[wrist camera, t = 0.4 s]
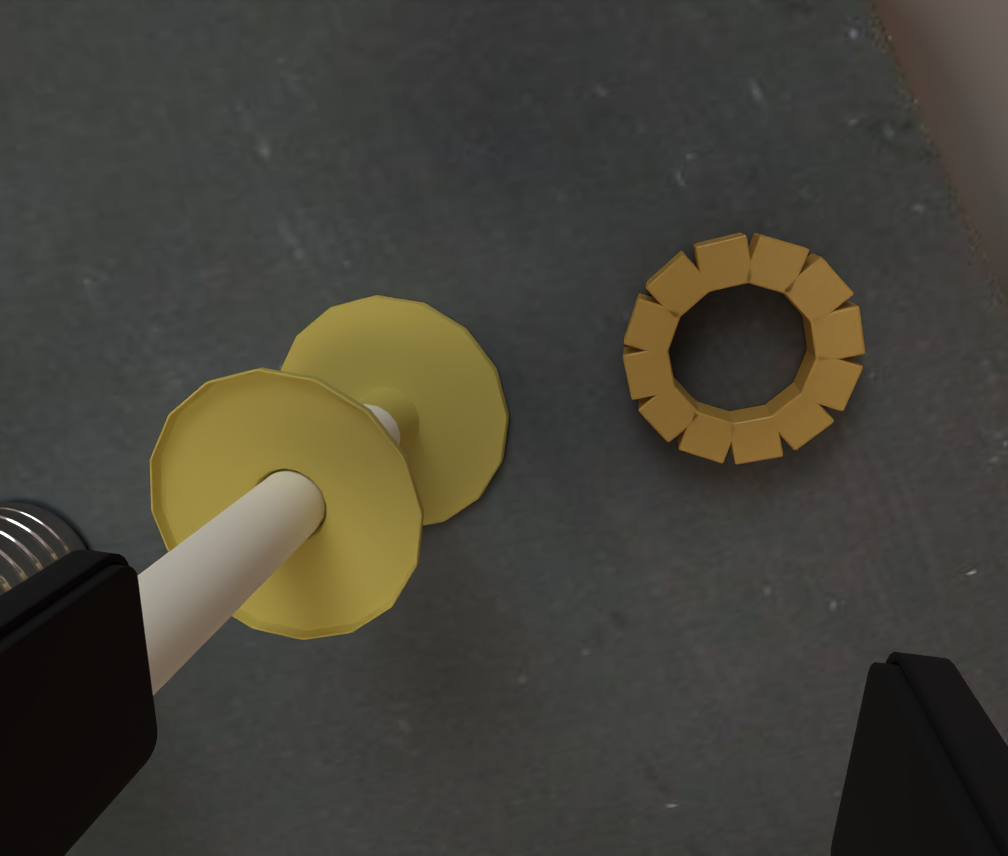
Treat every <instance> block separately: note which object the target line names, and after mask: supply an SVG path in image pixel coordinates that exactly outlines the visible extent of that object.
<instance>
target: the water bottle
mask: <svg viewBox="0 0 1008 856" xmlns="http://www.w3.org/2000/svg"><path fill="white" fill-rule="evenodd" d="M75 550H87V549H86V547H85V546H84V544H83V542H82V540H81V539H80V538H79V536H78V535H77V533H76V532H75V531H74V530H73V529H72V528H71V527H70V526H69V525H68V524H67V523H66V522H65V521H64V520H63V519H61V518H60V517H59V516H57V515H56V514H54V513H53V512H51V511H49V510H47V509H45V508H43V507H40V506H38V505H34V504H30V503H25V502H5V503H0V595H2V594H4V593H5V592H7V591H9V590H10V589H12V588H13V587H15V586H17V585H18V584H20V583H21V582H23V581H25V580H26V579H28V578H29V577H31V576H33V575H34V574H36V573H38V572H39V571H41V570H42V569H44V568H46V567H47V566H49V565H50V564H52V563H54V562H55V561H57V560H58V559H60V558H62V557H63V556H65V555H67V554H68V553H70V552H72V551H75Z"/></svg>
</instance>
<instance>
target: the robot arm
mask: <svg viewBox="0 0 1008 856" xmlns="http://www.w3.org/2000/svg"><path fill="white" fill-rule="evenodd" d="M156 741H157V724H156V716H155V708H154V700H153V692H152V684H151V677H150V669H149V661H148V653H147V645H146V637H145V630H144V622H143V614H142V606H141V598H140V590H139V583H138V577H137V573H136V571H135V570H134V569H133V568H132V567H130V566H129V565H128V562H127V561H126V559H125V558H124V557H123V556H121V555H120V554H114V553H106V552H98V551H90V550H75V551H72V552H70V553H68V554H67V555H65V556H63V557H62V558H60V559H58V560H57V561H55V562H54V563H52V564H50V565H49V566H47V567H46V568H44V569H42V570H41V571H39V572H38V573H36V574H34V575H33V576H31V577H29V578H28V579H26V580H25V581H23V582H21V583H20V584H18V585H17V586H15V587H13V588H12V589H10V590H9V591H7V592H5V593H4V594H2V595H0V856H64V855H65V854H66V853H67V852H68V851H69V850H70V848H71V847H72V846H73V845H74V844H75V843H76V842H77V840H78V839H79V838H80V837H81V836H82V835H83V834H84V833H85V831H86V830H87V829H88V828H89V827H90V826H91V825H92V823H93V822H94V821H95V820H96V819H97V818H98V817H99V816H100V814H101V813H102V812H103V811H104V810H105V809H106V808H107V806H108V805H109V804H110V803H111V802H112V801H113V800H114V799H115V797H116V796H117V795H118V794H119V793H120V792H121V791H122V789H123V788H124V787H125V786H126V785H127V784H128V783H129V781H130V780H131V779H132V778H133V777H134V776H135V775H136V774H137V772H138V771H139V770H140V769H141V768H142V767H143V766H144V764H145V763H146V762H147V761H148V759H149V758H150V756H151V754H152V752H153V750H154V748H155V745H156ZM831 856H1008V746H1007V745H1006V743H1005V742H1004V740H1003V739H1002V737H1001V736H1000V734H999V733H998V731H997V729H996V728H995V726H994V725H993V723H992V722H991V720H990V719H989V717H988V716H987V714H986V713H985V711H984V710H983V708H982V707H981V705H980V703H979V702H978V700H977V699H976V697H975V696H974V694H973V693H972V691H971V690H970V688H969V687H968V685H967V684H966V682H965V681H964V679H963V678H962V676H961V674H960V673H959V671H958V670H957V668H956V667H955V665H954V664H953V663H952V662H951V661H950V660H949V659H946V658H939V657H931V656H923V655H916V654H908V653H900V652H893V653H891V654H890V655H889V657H888V659H887V661H886V664H885V663H877V662H875V663H873V664H872V665H871V667H870V669H869V672H868V676H867V681H866V685H865V690H864V695H863V699H862V704H861V709H860V713H859V718H858V723H857V728H856V732H855V737H854V742H853V746H852V751H851V756H850V760H849V765H848V770H847V774H846V779H845V784H844V788H843V793H842V798H841V803H840V807H839V812H838V817H837V821H836V826H835V831H834V835H833V840H832V846H831Z"/></svg>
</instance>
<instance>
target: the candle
mask: <svg viewBox="0 0 1008 856" xmlns="http://www.w3.org/2000/svg"><path fill="white" fill-rule="evenodd" d="M508 422H509V411H508V408H507V404H506V400H505V397H504V393H503V389H502V386H501V382H500V378H499V375H498V371H497V368H496V367H495V365H494V364H493V363H492V361H491V360H490V359H489V357H488V356H487V355H486V353H485V352H484V351H483V349H482V348H481V347H480V345H479V344H478V343H477V342H476V340H475V339H474V338H473V336H472V335H471V334H470V332H469V331H468V330H467V328H465V327H463V326H462V325H460V324H458V323H457V322H455V321H454V320H452V319H450V318H449V317H447V316H445V315H444V314H442V313H440V312H439V311H437V310H436V309H434V308H432V307H431V306H429V305H427V304H426V303H424V302H418V301H411V300H405V299H399V298H392V297H386V296H380V295H374V296H371V297H367V298H363V299H359V300H356V301H352V302H348V303H344V304H341V305H337V306H333V307H330V308H329V309H328V310H327V311H326V312H324V313H323V314H322V315H321V316H320V317H318V318H317V319H316V320H315V321H314V322H312V323H311V324H310V325H309V326H308V327H307V328H305V329H304V330H303V331H302V332H301V333H299V334H298V335H297V336H296V338H295V340H294V343H293V345H292V347H291V349H290V351H289V353H288V355H287V358H286V360H285V362H284V364H283V366H282V368H281V371H278V370H273V369H267V368H258V369H254V370H250V371H246V372H242V373H238V374H234V375H230V376H226V377H222V378H218V379H214V380H210V381H208V382H206V383H205V384H204V385H202V386H201V387H200V388H199V389H198V390H197V391H195V392H194V393H193V394H192V395H191V396H190V397H188V398H187V399H186V400H185V401H184V402H183V403H182V404H180V405H179V406H178V407H177V408H176V409H175V410H173V411H172V412H171V413H170V414H169V415H168V417H167V420H166V422H165V425H164V427H163V429H162V432H161V434H160V437H159V439H158V442H157V444H156V446H155V449H154V451H153V454H152V456H151V458H150V481H151V511H152V514H153V516H154V518H155V521H156V523H157V526H158V528H159V531H160V533H161V535H162V538H163V540H164V543H165V545H166V548H167V550H168V553H167V554H166V555H164V556H163V557H162V558H160V559H159V560H158V561H156V562H155V563H154V564H152V565H151V566H150V567H148V568H147V569H146V570H144V571H143V572H142V573H140V574H139V575H138V576H137V577H138V583H139V590H140V598H141V606H142V614H143V622H144V630H145V637H146V645H147V653H148V661H149V669H150V677H151V684H152V692H153V695H154V694H155V693H156V692H157V691H158V690H159V689H160V688H161V687H162V686H163V685H164V684H165V683H166V682H167V681H168V680H169V679H170V678H171V677H172V676H173V675H174V674H175V673H176V672H177V671H178V670H179V669H180V668H181V667H182V666H183V665H184V664H185V663H186V662H187V661H188V660H189V659H190V658H191V657H192V656H193V655H194V654H195V653H196V652H197V650H198V649H199V648H200V647H201V646H202V645H203V644H204V643H205V642H206V641H207V640H208V639H209V638H210V637H211V636H212V635H213V634H214V633H215V632H216V631H217V630H218V629H219V628H220V627H221V626H222V625H223V624H224V623H225V622H226V621H227V620H228V619H229V618H230V617H231V616H233V617H234V618H236V619H238V620H239V621H241V622H243V623H244V624H246V625H248V626H249V627H251V628H252V629H257V630H261V631H265V632H270V633H274V634H279V635H283V636H288V637H292V638H296V639H301V640H306V639H313V638H320V637H327V636H334V635H341V634H347V633H352V632H354V631H355V630H357V629H358V628H360V627H362V626H363V625H365V624H366V623H368V622H370V621H371V620H373V619H374V618H376V617H377V616H379V615H381V614H382V613H384V612H385V611H387V610H388V609H390V608H392V606H393V604H394V603H395V601H396V600H397V598H398V596H399V595H400V593H401V591H402V590H403V588H404V586H405V585H406V583H407V581H408V580H409V578H410V577H411V575H412V573H413V572H414V570H415V568H416V567H417V565H418V563H419V558H420V548H421V538H422V528H423V525H428V524H434V523H439V522H444V521H446V520H448V519H449V518H451V517H452V516H454V515H455V514H457V513H458V512H460V511H461V510H463V509H464V508H466V507H467V506H469V505H470V504H472V503H473V502H475V501H476V500H478V499H479V498H480V497H481V495H482V494H483V492H484V490H485V489H486V487H487V485H488V484H489V482H490V481H491V479H492V477H493V476H494V474H495V473H496V471H497V469H498V468H499V466H500V465H501V463H502V461H503V459H504V451H505V444H506V437H507V429H508Z"/></svg>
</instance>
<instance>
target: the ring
mask: <svg viewBox="0 0 1008 856" xmlns="http://www.w3.org/2000/svg"><path fill="white" fill-rule="evenodd" d="M693 249H694V255H695V260H696V266H697V267H696V266H695V264H694V263H693V262H692V261H691V260H690V259H689V258H688V257H687V256H686V254H685V253H684V252H683V251H680V252H679V253H677V254H676V255H675V256H674V257H673V258H672V259H671V260H670V261H669V262H668V263H666V264H665V265H664V266H663V267H662V268H661V269H660V270H659V271H658V272H657V273H655V274H654V275H653V276H652V277H651V278H650V279H649V280H648V281H647V282H646V289H647V290H648V291H649V292H650V294H651V295H652V296H653V297H651V296H648V295H644V294H641V293H639V294H638V296H637V299H636V302H635V305H634V308H633V311H632V314H631V317H630V320H629V323H628V326H627V329H626V332H625V336H624V344H625V345H628V347H625V348H624V352H623V361H624V366H625V370H626V375H627V380H628V384H629V389H630V394H631V398H632V400H636V399H639V408H638V410H639V412H640V414H641V415H642V416H643V417H644V418H645V419H646V420H647V421H648V422H649V423H650V424H651V425H652V426H653V427H654V428H655V430H656V431H657V432H658V433H659V434H660V435H661V436H662V437H663V438H664V439H665V440H666V441H667V442H670V441H672V440H673V439H674V438H675V437H678V446H679V450H681V451H684V452H687V453H691V454H694V455H697V456H700V457H703V458H706V459H709V460H713V461H716V462H719V463H723V462H724V460H725V458H726V455H727V453H728V450H729V448H730V449H731V453H732V456H733V459H734V462H735V464H742V463H748V462H754V461H760V460H766V459H771V458H777V457H782V456H783V451H782V445H781V439H780V436H781V437H782V438H783V439H784V440H785V441H786V442H787V443H788V444H789V445H790V447H791V448H792V449H793V450H797V449H799V448H800V447H801V446H803V445H804V444H805V443H807V442H808V441H809V440H811V439H812V438H813V437H815V436H816V435H817V434H819V433H820V432H821V431H823V430H824V429H825V428H827V427H828V426H829V425H831V424H832V423H833V422H834V420H833V418H832V417H831V416H830V415H829V413H828V412H827V411H826V410H825V408H824V407H823V406H826V407H829V408H833V409H836V410H839V411H843V410H844V409H845V407H846V405H847V402H848V400H849V398H850V396H851V394H852V391H853V389H854V387H855V385H856V383H857V380H858V378H859V376H860V374H861V372H862V369H863V366H861V365H860V364H859V363H858V362H857V361H855V360H854V359H853V358H852V357H853V356H858V355H863V354H865V346H864V338H863V330H862V323H861V315H860V308H859V306H857V305H856V304H854V303H852V302H850V301H848V300H847V299H849V298H850V297H851V296H852V295H853V292H852V291H851V290H850V288H849V287H848V286H847V285H846V284H845V283H844V282H843V280H842V279H841V278H840V277H839V276H838V275H837V274H836V273H835V271H834V270H833V269H832V268H831V267H830V266H829V265H828V263H827V262H826V261H825V260H824V259H823V258H822V257H820V256H818V255H815V254H812V253H811V254H810V255H808V253H809V249H808V248H805V247H802V246H799V245H796V244H793V243H789V242H786V241H782V240H779V239H775V238H772V237H768V236H765V235H762V234H758V233H754V234H753V237H752V239H751V242H750V244H749V246H748V240H747V236H746V235H745V234H743V233H736V234H732V235H727V236H723V237H719V238H715V239H711V240H707V241H703V242H699V243H695V244H693ZM807 255H808V256H807ZM746 283H750V284H753V285H756V286H760V287H763V288H766V289H770V290H773V291H777V292H780V293H782V294H783V295H784V296H785V297H786V298H787V299H788V300H789V301H790V303H791V304H792V305H793V306H794V307H795V308H796V309H797V310H798V312H799V313H800V314H801V315H802V320H803V326H804V333H805V340H806V346H807V351H806V353H805V355H804V358H803V360H802V362H801V365H800V367H799V370H798V372H797V374H796V377H795V379H794V381H793V383H792V384H791V385H789V386H788V387H787V388H786V389H784V390H783V391H782V392H780V393H779V394H778V395H777V396H775V397H774V398H773V399H772V400H770V401H769V402H768V403H766V404H765V405H760V406H755V407H750V408H744V409H739V410H734V411H726V410H723V409H720V408H717V407H714V406H710V405H707V404H704V403H701V402H698V401H696V400H695V399H694V398H693V397H692V396H691V395H690V394H689V393H688V392H687V391H686V390H685V388H684V387H683V386H682V385H681V384H680V383H679V382H678V381H677V380H676V379H675V378H674V376H673V371H672V366H671V361H670V356H669V348H670V345H671V342H672V339H673V337H674V334H675V331H676V328H677V325H678V323H679V320H680V317H681V316H682V315H684V314H685V313H686V312H687V311H688V310H689V309H690V308H692V307H693V306H694V305H695V304H696V303H697V302H698V301H700V300H701V299H702V298H703V297H704V296H705V295H706V294H708V293H709V292H711V291H715V290H720V289H724V288H729V287H733V286H737V285H742V284H746ZM822 405H823V406H822Z"/></svg>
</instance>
